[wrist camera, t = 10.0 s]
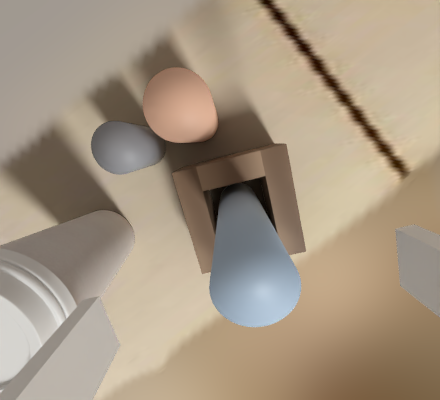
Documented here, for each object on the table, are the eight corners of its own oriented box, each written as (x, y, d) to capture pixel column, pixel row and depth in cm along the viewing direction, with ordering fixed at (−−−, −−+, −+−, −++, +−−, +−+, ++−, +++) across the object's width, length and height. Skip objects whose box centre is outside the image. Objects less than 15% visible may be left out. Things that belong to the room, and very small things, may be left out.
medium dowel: (186, 146, 24) (155, 150, 14) (174, 107, 24) (132, 79, 13) (222, 136, 24) (220, 132, 13) (212, 96, 23) (202, 57, 13)
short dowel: (135, 169, 25) (103, 180, 18) (122, 132, 24) (82, 129, 18) (170, 160, 25) (150, 166, 18) (158, 122, 24) (132, 114, 17)
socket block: (206, 250, 27) (202, 273, 22) (182, 167, 25) (171, 173, 20) (291, 231, 26) (306, 251, 22) (274, 143, 24) (286, 143, 19)
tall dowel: (224, 221, 26) (221, 334, 11) (215, 187, 25) (198, 257, 10) (259, 213, 26) (308, 317, 10) (251, 178, 25) (292, 237, 10)
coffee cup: (75, 184, 26) (-121, 239, 11) (157, 213, 26) (73, 301, 12) (59, 258, 28) (-121, 383, 13) (136, 283, 29) (42, 429, 14)
